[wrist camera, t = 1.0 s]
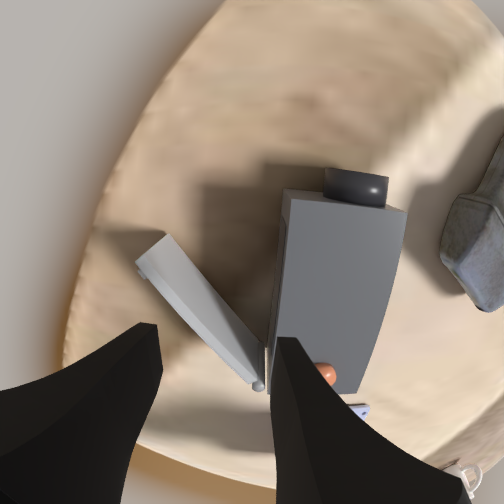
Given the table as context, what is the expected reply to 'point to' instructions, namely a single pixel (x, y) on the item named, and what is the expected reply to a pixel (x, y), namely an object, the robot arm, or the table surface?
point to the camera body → (335, 273)
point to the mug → (459, 472)
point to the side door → (204, 310)
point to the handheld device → (479, 238)
